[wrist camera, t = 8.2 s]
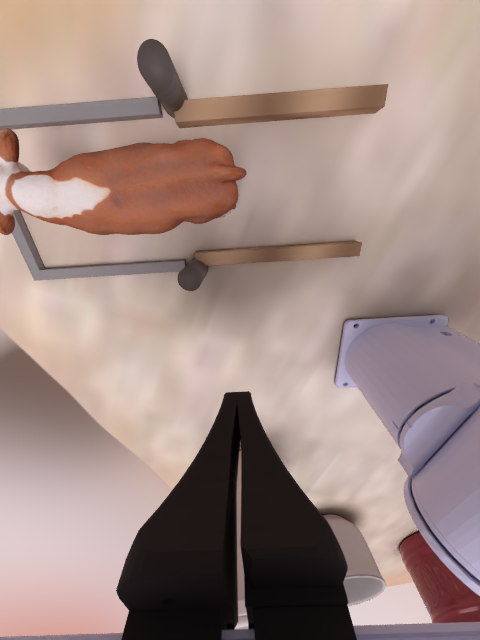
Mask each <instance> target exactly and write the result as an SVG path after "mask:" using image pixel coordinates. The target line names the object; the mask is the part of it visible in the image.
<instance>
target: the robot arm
mask: <svg viewBox="0 0 480 640" xmlns="http://www.w3.org/2000/svg"><path fill="white" fill-rule="evenodd" d="M430 320H431V321H430ZM448 320H449V318H448V317H447V316H445V315H426V316H409V317H392V318H374V319H357V320H348V321H346V322H345V324H344V328H343V334H342V341H341V347H340V353H339V360H338V366H337V372H336V379H335V385H336V386H337V387H338V388H347V387H358V389H359V390H360V391H361V393H362V394H363V396H364V397H365V399H366V400H367V401H368V403H369V404H370V406H371V407H372V409H373V410H374V412H375V413H376V414H377V416H378V417H379V419H380V420H381V422H382V423H383V424H384V426H385V427H386V429H387V430H388V432H389V433H390V434H391V436H392V437H393V439H394V440H395V442H396V443H397V444H398V446H399V447H400V449H401V455H400V457H399V458H398V461H399V462H400V464H401V465H402V467H403V468H404V470H405V472H406V473H407V475H408V476H409V477H408V478H407V479H406V481H405V484H404V497H405V502H406V505H407V508H408V511H409V513H410V515H411V517H412V519H413V521H414V523H415V525H416V526H417V528H418V530H419V531H420V533H421V535H422V536H423V538H424V539H425V540H426V542H427V543H428V545H429V546H430V547H431V549H432V550H433V551H434V552H435V554H436V555H437V556H438V557H439V559H440V560H441V561H442V562H443V563H444V564H445V565H446V566H447V567H448V568H449V569H450V570H451V572H453V573H454V574H455V575H456V576H457V577H458V578H459V579H460V580H461V581H462V582H463V583H464V584H465V585H467V586H468V587H469V588H470V589H471V590H473V591H474V592H475V593H476V594H477V595H479V596H480V344H479V343H477V342H475V341H473V340H471V339H469V338H467V337H465V336H464V335H462V334H460V333H458V332H456V331H454V330H452V329H450V328H448V327H447V323H448ZM355 324H357V325H356V326H354V325H355ZM345 382H346V383H345ZM344 383H345V384H344ZM240 441H241V539H240V545H241V553H242V561H243V568H244V587H245V608H246V612H247V619H248V629H237V630H234V629H235V627H236V625H237V623H238V577H237V477H238V463H239V448H240ZM347 571H348V565H347V562H346V559H345V556H344V554H343V551H342V549H341V547H340V544H339V542H338V540H337V538H336V536H335V534H334V532H333V530H332V528H331V526H330V524H329V523H328V521H327V520H326V519H325V518H324V516H323V515H322V514H321V513H320V512H319V511H318V509H317V508H316V507H315V506H314V505H313V503H312V502H311V501H310V500H309V498H308V497H307V496H306V495H305V493H304V492H303V491H302V489H301V488H300V487H299V485H298V484H297V483H296V481H295V480H294V478H293V477H292V476H291V474H290V473H289V471H288V470H287V469H286V467H285V466H284V464H283V463H282V461H281V459H280V458H279V456H278V455H277V453H276V451H275V450H274V448H273V446H272V444H271V443H270V441H269V439H268V437H267V435H266V433H265V431H264V429H263V427H262V425H261V423H260V420H259V418H258V416H257V413H256V411H255V408H254V405H253V402H252V398H251V393H250V392H249V391H248V392H229V393H225V394H224V398H223V402H222V405H221V407H220V410H219V413H218V415H217V417H216V419H215V422H214V424H213V426H212V428H211V430H210V432H209V434H208V436H207V438H206V440H205V442H204V444H203V445H202V447H201V449H200V451H199V452H198V454H197V456H196V457H195V459H194V460H193V462H192V463H191V465H190V466H189V468H188V469H187V471H186V472H185V474H184V475H183V477H182V478H181V480H180V481H179V482H178V484H177V485H176V486H175V487H174V489H173V490H172V491H171V493H170V494H169V495H168V497H167V498H166V499H165V500H164V502H163V503H162V504H161V505H160V507H159V508H158V509H157V510H156V511H155V512H154V513H153V515H152V516H151V517H150V518H149V519H148V520H147V522H146V523H145V524H144V525H143V526H142V527H141V528H140V530H139V531H138V533H137V535H136V538H135V540H134V542H133V544H132V546H131V549H130V551H129V553H128V556H127V558H126V561H125V564H124V567H123V571H122V574H121V577H120V580H119V583H118V586H117V590H116V591H117V594H118V596H119V599H120V600H121V601H122V602H123V603H124V605H125V606H126V607H127V608H128V610H129V614H128V617H127V621H126V625H125V628H124V632H123V633H111V634H79V635H51V636H50V635H48V636H16V637H0V640H480V622H459V623H429V624H396V625H364V626H353V624H352V620H351V617H350V613H349V610H348V606H347V604H348V598H347V595H346V591H345V588H344V584H343V582H344V579H345V576H346V574H347Z"/></svg>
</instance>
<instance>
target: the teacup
mask: <svg viewBox="0 0 480 640" xmlns="http://www.w3.org/2000/svg"><path fill="white" fill-rule="evenodd" d="M323 516H324V518H325V519H326V520H327V521H328V523H329V524H330V526H331V528H332V530H333V532H334V534H335V536H336V538H337V540H338V542H339V544H340V547H341V549H342V551H343V554H344V556H345V559H346V562H347V565H348V571H347V574H346V576H345V579H344V582H343V584H344V588H345V591H346V595H347V598H348V604H347V606H352V605H357V604H360V603H363V602H365V601H368V600H370V599H372V598H374V597H376V596H378V595H379V594H381V593H382V592H383V591H384V589H385V587H386V583H385V581H384V579H383V578H382V576H381V574H380V572H379V569H378V567H377V565H376V563H375V560H374V558H373V556H372V554H371V552H370V549H369V547H368V545H367V543H366V541H365V539H364V537H363V535H362V534H361V532H360V531H359V529H358V528H357V527H356V526H355V525H354V524H352V523H351V522H349V521H347V520H345V519H344V518H343V517H341V516H338V515H331V514H330V515H323Z"/></svg>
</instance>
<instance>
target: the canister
mask: <svg viewBox="0 0 480 640" xmlns="http://www.w3.org/2000/svg"><path fill="white" fill-rule="evenodd" d="M399 550H400V553H401V556H402V560H403V562H404V564H405V566H406V569H407V570H408V572H409V573H410V575H411V577H412V579H413V581H414V583H415V585H416V587H417V589H418V591H419V594H420V596H421V598H422V599H423V602H424V604H425V606H426V608H427V610H428V612H429V614H430V616H431V619H432V623H459V622H480V596H479V595H477V594H476V593H475V592H474V591H473V590H471V589H470V588H469V587H468V586H467V585H465V584H464V583H463V582H462V581H461V580H460V579H459V578H458V577H457V576H456V575H455V574H454V573H453V572H451V570H450V569H449V568H448V567H447V566H446V565H445V564H444V563H443V562H442V561H441V560H440V559H439V557H438V556H437V555H436V554H435V552H434V551H433V550H432V549H431V547H430V546H429V545H428V543H427V542H426V540H425V539H424V538H423V536H422V535H421V533H420V532H418V533H416V534H414V535H412V536H410V537H408V538H407V539H405V540H404V541H403V542H402V543H401V545H400V548H399Z"/></svg>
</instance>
